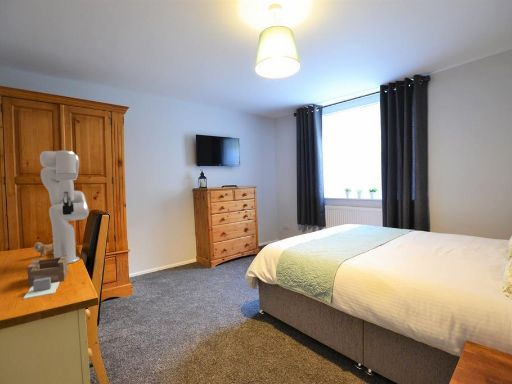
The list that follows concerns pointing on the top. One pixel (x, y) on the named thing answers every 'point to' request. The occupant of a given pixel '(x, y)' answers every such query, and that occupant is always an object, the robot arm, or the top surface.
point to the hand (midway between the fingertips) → (68, 213)
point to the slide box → (48, 269)
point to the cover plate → (41, 293)
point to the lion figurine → (43, 248)
